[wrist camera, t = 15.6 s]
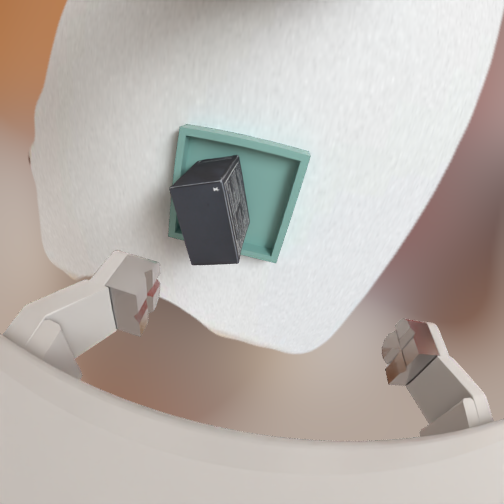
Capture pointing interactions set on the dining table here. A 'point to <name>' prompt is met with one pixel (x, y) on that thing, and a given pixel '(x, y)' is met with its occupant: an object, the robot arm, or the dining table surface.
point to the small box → (212, 210)
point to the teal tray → (249, 182)
